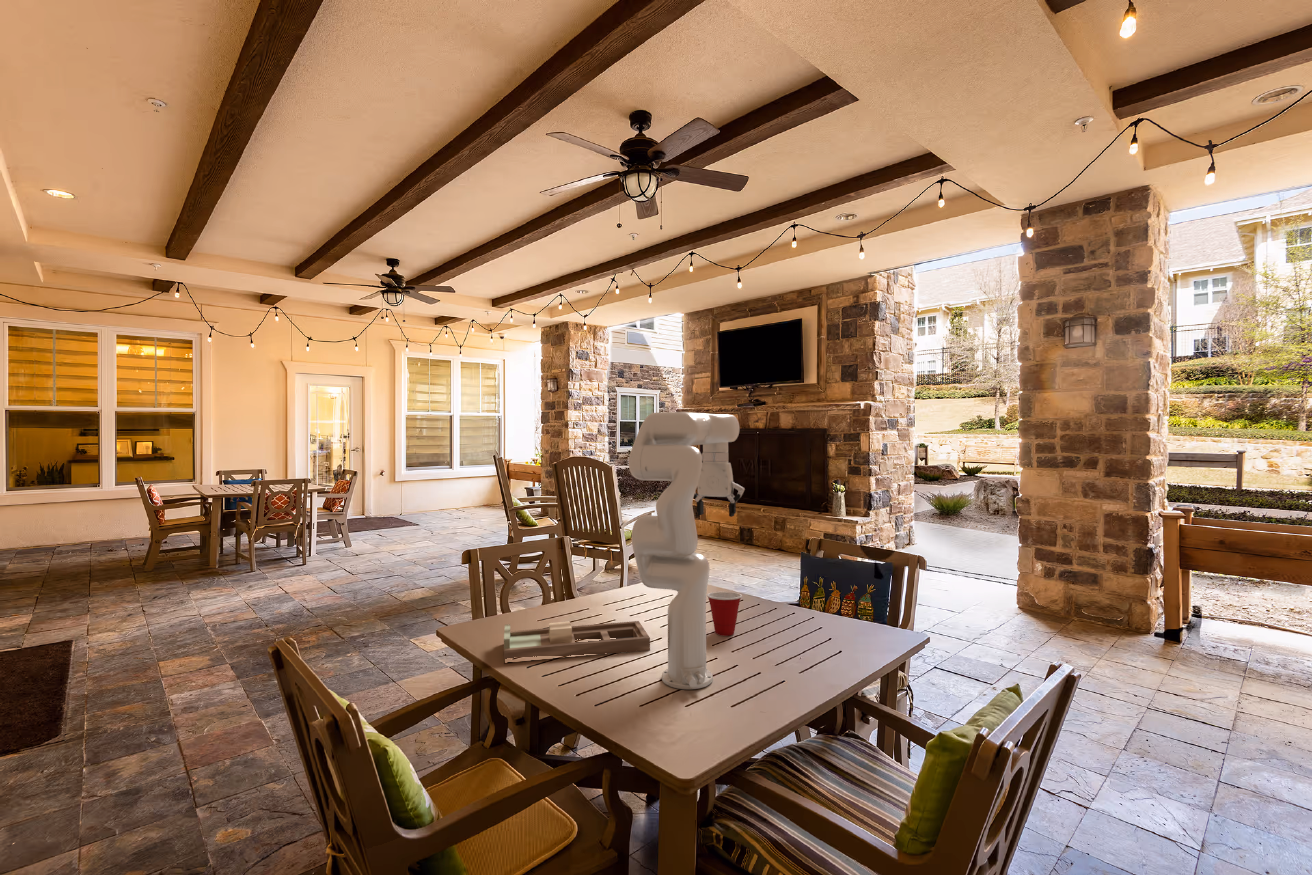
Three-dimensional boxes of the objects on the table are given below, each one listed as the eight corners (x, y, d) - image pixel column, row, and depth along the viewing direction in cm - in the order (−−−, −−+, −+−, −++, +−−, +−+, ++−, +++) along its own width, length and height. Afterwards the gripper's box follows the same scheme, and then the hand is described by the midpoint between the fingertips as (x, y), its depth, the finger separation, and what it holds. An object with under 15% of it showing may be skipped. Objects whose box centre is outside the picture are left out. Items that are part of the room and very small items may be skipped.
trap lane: (650, 650, 167) (649, 628, 167) (503, 663, 158) (503, 641, 158) (638, 632, 183) (638, 612, 183) (505, 643, 173) (504, 623, 173)
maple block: (571, 642, 167) (571, 627, 167) (550, 643, 166) (550, 629, 166) (570, 635, 173) (569, 621, 173) (549, 636, 171) (549, 623, 171)
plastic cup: (741, 627, 186) (741, 589, 186) (743, 639, 176) (743, 598, 176) (707, 626, 188) (706, 588, 188) (706, 638, 177) (706, 597, 177)
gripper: (684, 458, 177) (684, 515, 177) (740, 459, 170) (740, 518, 170) (692, 457, 184) (693, 512, 184) (747, 458, 177) (747, 515, 177)
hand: (716, 515), depth 177 cm, fingers open, 9 cm apart
